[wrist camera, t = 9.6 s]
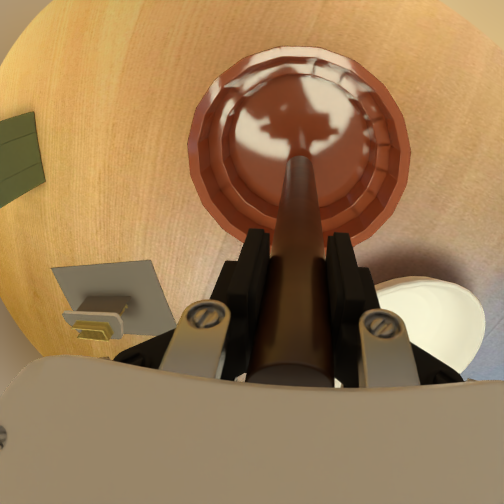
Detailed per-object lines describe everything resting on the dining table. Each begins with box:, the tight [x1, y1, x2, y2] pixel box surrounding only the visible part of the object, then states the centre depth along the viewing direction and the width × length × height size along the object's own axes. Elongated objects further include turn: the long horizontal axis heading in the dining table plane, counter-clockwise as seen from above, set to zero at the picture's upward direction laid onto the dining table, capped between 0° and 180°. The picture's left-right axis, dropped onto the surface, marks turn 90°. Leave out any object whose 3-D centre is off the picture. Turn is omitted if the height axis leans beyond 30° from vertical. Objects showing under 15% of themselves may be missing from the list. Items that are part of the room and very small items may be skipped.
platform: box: [51, 260, 177, 342], centre depth 36 cm, size 12×18×7 cm, turn 100°
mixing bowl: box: [187, 46, 411, 256], centre depth 22 cm, size 16×16×6 cm
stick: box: [245, 156, 335, 388], centre depth 15 cm, size 2×2×20 cm
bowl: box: [335, 276, 485, 388], centre depth 30 cm, size 20×20×6 cm
